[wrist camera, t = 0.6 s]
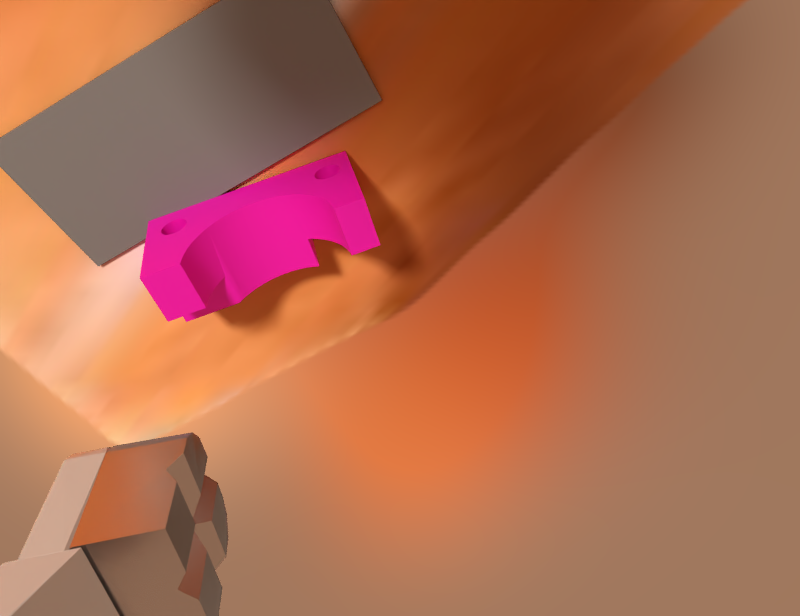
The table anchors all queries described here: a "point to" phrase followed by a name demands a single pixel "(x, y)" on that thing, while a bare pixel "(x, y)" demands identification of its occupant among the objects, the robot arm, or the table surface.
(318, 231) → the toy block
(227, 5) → the rubber mat
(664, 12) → the table surface
